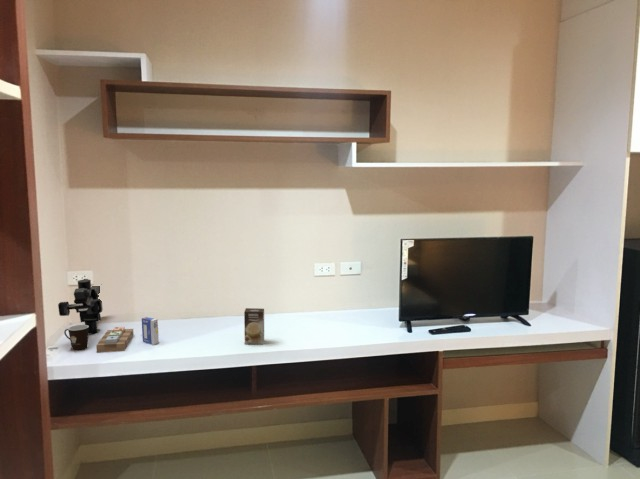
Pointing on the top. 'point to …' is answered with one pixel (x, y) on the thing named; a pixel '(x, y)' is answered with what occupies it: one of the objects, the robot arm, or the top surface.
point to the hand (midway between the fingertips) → (76, 313)
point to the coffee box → (254, 326)
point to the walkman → (150, 330)
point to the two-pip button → (119, 329)
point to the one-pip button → (112, 339)
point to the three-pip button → (116, 334)
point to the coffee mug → (78, 337)
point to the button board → (115, 347)
